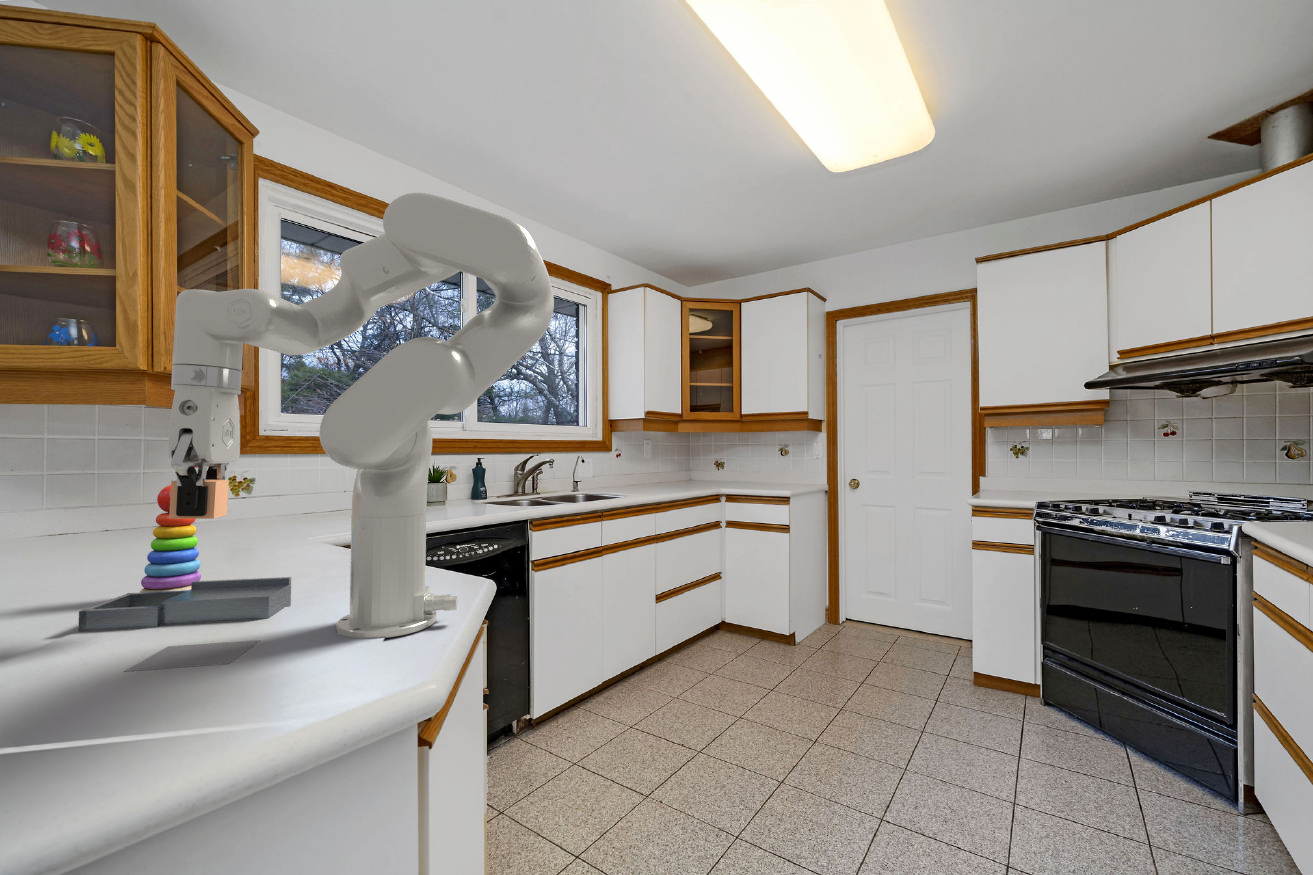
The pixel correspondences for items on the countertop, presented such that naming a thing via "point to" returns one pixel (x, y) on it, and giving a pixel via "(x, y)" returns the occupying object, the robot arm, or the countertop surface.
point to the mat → (194, 655)
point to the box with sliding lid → (191, 605)
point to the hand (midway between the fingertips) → (200, 512)
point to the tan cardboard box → (214, 500)
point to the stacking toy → (171, 552)
